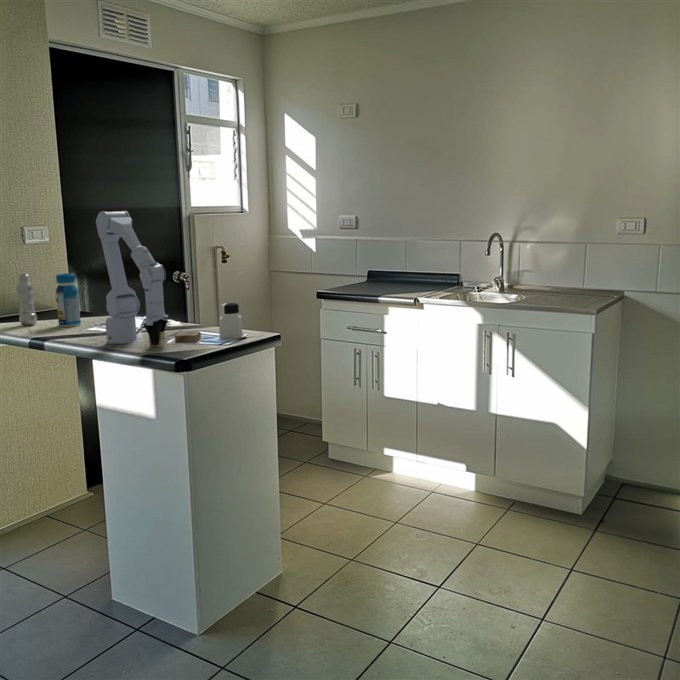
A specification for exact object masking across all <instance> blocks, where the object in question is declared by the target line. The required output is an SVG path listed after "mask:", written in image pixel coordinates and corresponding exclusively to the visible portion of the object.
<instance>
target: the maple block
mask: <svg viewBox="0 0 680 680" xmlns="http://www.w3.org/2000/svg"><path fill="white" fill-rule="evenodd" d="M165 335H166V334H165V331H161V332H160V338H159V345H152V344H151V341H150V337H149V336H148V341H149V342H148V343H149V348H163V347H164V346H165V345H166V336H165Z"/></svg>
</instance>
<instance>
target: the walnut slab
mask: <svg viewBox="0 0 680 680" xmlns="http://www.w3.org/2000/svg"><path fill="white" fill-rule="evenodd" d="M201 332H202V331H179V332H178V333H176V334H175V335H174V339H175V343H196V342H197V341H198V340H200V339H201V337H202V334H201Z"/></svg>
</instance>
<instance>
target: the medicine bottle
mask: <svg viewBox="0 0 680 680" xmlns="http://www.w3.org/2000/svg"><path fill="white" fill-rule="evenodd" d="M239 307H240V306H239V304H238V303H236V302H225V303H222V304H221V305H220V311H221V312H220V315H221V316H220V318H219V319H218V328H219V329H218V331H219V338H224V339H226V338H229V339H230V338H241V337H242V335H243V321H242V319H243V318H242V315H240V308H239Z"/></svg>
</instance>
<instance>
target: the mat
mask: <svg viewBox="0 0 680 680" xmlns="http://www.w3.org/2000/svg"><path fill="white" fill-rule="evenodd" d="M204 339H206V336H201V339H200V340H198V341H197V342H196V343H175V338H174V339H172V340H171V341H170V342H168V343H167V345H199V344H200V342H202V341H203V340H204Z"/></svg>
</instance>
